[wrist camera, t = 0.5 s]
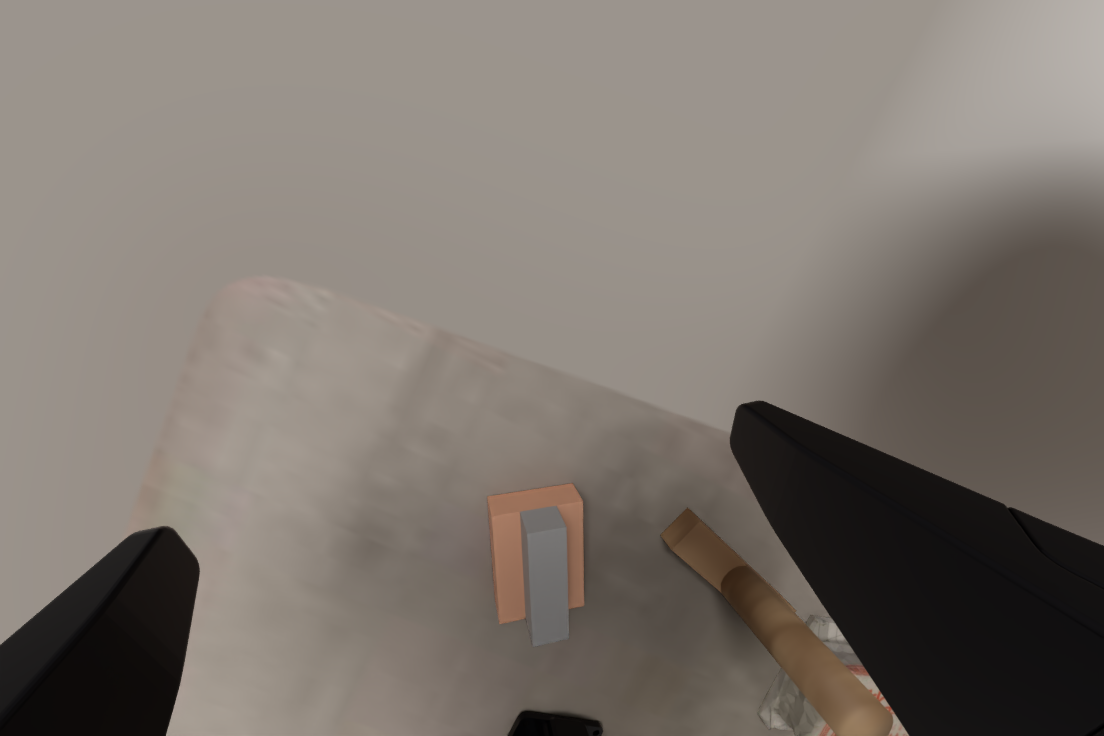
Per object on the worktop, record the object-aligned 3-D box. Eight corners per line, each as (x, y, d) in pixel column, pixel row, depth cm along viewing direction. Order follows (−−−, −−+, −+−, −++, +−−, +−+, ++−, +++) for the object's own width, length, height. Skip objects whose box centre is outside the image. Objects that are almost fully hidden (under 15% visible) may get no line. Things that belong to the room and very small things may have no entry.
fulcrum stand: (574, 582, 30) (595, 632, 26) (495, 598, 29) (504, 653, 25) (572, 483, 28) (594, 521, 24) (487, 496, 27) (496, 539, 23)
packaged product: (792, 775, 34) (858, 661, 32) (749, 711, 38) (805, 608, 36) (952, 780, 39) (1015, 683, 38) (898, 723, 44) (952, 635, 42)
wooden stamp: (756, 619, 35) (903, 793, 24) (659, 534, 31) (785, 701, 20) (781, 594, 35) (939, 757, 24) (687, 506, 31) (829, 657, 20)
